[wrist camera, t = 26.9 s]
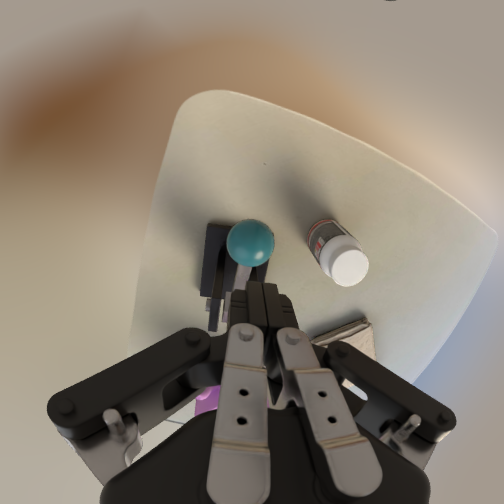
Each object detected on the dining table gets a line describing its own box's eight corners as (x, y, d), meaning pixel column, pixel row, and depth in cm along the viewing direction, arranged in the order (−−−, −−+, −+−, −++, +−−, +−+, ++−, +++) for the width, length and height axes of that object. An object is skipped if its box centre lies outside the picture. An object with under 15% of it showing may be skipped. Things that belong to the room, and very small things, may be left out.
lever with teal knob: (231, 206, 20) (226, 242, 18) (278, 213, 21) (280, 250, 18) (218, 297, 31) (214, 326, 29) (248, 301, 31) (247, 330, 29)
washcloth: (366, 312, 44) (373, 323, 41) (376, 369, 51) (380, 379, 48) (305, 338, 46) (308, 350, 43) (326, 389, 52) (329, 400, 50)
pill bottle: (302, 253, 39) (320, 288, 30) (311, 215, 37) (333, 241, 28) (338, 257, 40) (363, 292, 30) (348, 221, 37) (378, 248, 28)
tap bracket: (208, 223, 37) (193, 264, 25) (273, 232, 38) (288, 277, 26) (200, 291, 41) (188, 349, 29) (258, 299, 42) (265, 358, 30)
